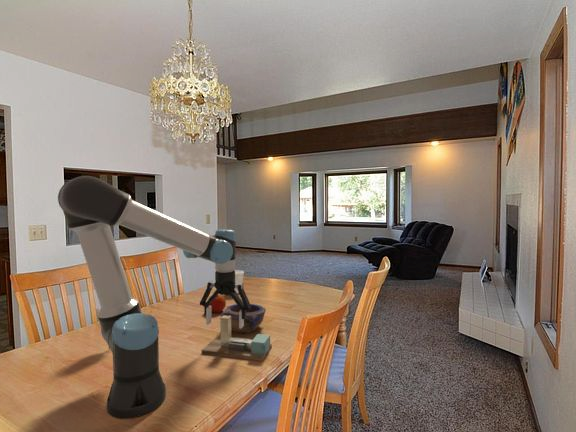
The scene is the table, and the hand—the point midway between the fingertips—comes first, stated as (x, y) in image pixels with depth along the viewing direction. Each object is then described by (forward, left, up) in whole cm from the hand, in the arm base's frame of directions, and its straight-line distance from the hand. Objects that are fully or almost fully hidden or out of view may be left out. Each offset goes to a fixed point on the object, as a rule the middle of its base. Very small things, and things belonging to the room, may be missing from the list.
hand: (224, 325), depth 123 cm
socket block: (0, -14, -8) cm, 17 cm away
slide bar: (0, -7, -8) cm, 11 cm away
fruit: (+38, +23, -9) cm, 46 cm away
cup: (+72, +27, -9) cm, 78 cm away
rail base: (0, -5, -9) cm, 10 cm away
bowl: (+20, 0, -9) cm, 22 cm away
